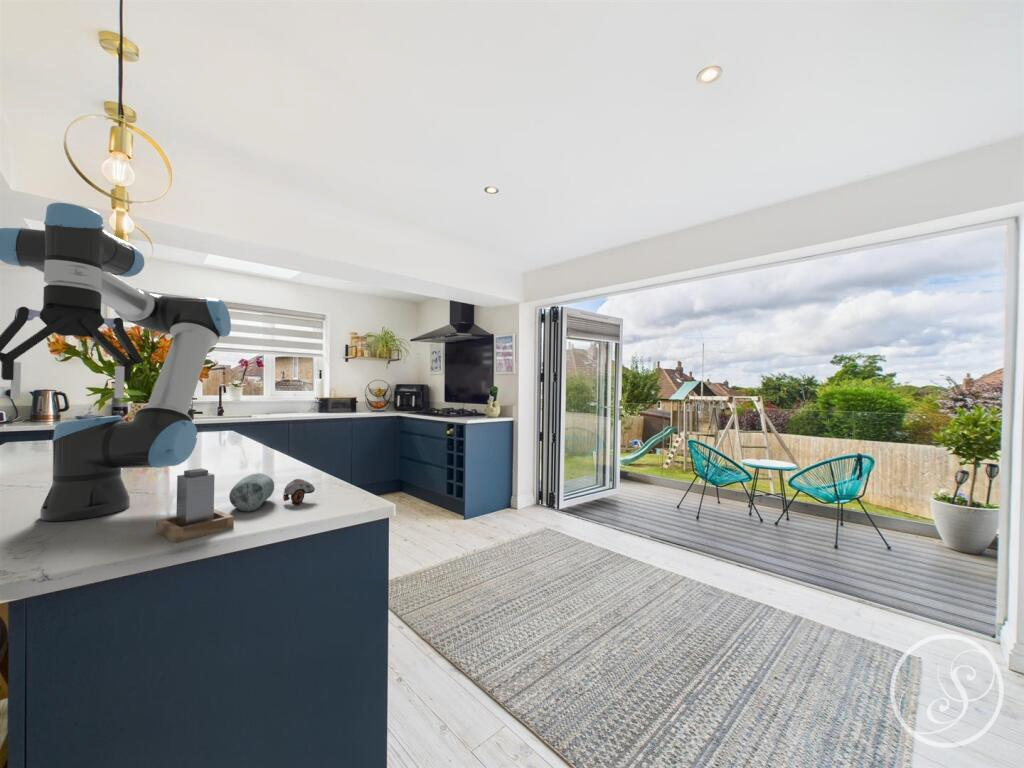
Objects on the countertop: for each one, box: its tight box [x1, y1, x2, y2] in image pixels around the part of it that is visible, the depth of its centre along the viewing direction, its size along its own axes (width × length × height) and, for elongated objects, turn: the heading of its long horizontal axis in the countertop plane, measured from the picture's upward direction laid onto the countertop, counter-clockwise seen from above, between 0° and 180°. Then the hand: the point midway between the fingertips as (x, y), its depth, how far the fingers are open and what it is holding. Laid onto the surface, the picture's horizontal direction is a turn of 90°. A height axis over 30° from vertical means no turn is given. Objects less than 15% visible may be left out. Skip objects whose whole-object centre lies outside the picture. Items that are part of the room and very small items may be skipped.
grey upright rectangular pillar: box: [175, 468, 215, 527], centre depth 88 cm, size 5×5×13 cm
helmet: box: [282, 478, 316, 506], centre depth 109 cm, size 6×8×7 cm
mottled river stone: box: [228, 472, 275, 512], centre depth 106 cm, size 14×10×10 cm
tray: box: [155, 508, 235, 543], centre depth 88 cm, size 10×10×2 cm
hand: (71, 398), depth 77 cm, fingers open, 13 cm apart
